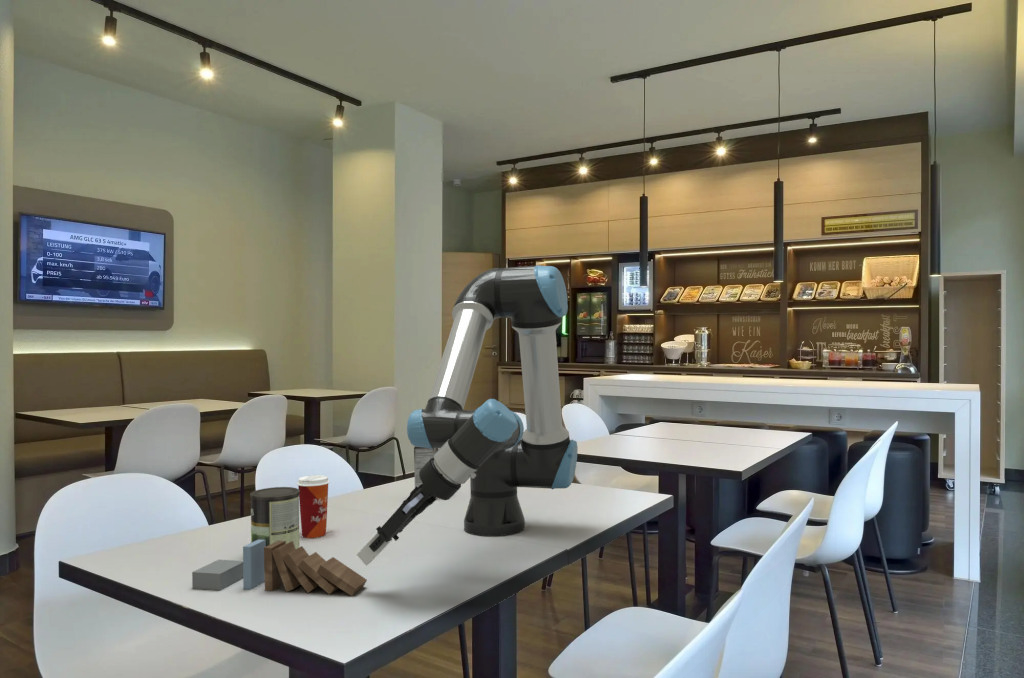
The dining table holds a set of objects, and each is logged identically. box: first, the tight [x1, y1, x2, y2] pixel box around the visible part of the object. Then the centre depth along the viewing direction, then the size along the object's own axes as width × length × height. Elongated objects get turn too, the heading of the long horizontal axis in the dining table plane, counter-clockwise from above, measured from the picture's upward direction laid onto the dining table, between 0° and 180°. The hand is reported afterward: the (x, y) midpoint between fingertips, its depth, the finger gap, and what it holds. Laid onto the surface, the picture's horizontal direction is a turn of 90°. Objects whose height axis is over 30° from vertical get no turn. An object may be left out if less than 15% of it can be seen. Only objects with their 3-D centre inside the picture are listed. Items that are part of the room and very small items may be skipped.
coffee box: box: [413, 446, 439, 500], centre depth 211 cm, size 9×6×16 cm
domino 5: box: [298, 551, 340, 596], centre depth 131 cm, size 2×5×8 cm
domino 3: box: [272, 541, 302, 593], centre depth 133 cm, size 2×5×8 cm, turn 168°
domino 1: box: [242, 540, 266, 590], centre depth 134 cm, size 2×5×8 cm, turn 167°
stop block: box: [191, 559, 243, 591], centre depth 136 cm, size 6×8×3 cm
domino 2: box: [264, 541, 286, 592], centre depth 133 cm, size 2×5×8 cm, turn 167°
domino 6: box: [317, 556, 368, 597], centre depth 130 cm, size 2×5×8 cm
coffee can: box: [249, 486, 300, 549], centre depth 153 cm, size 10×10×14 cm
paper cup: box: [296, 474, 331, 539], centre depth 170 cm, size 8×8×14 cm
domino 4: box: [283, 546, 320, 594], centre depth 132 cm, size 2×5×8 cm
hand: (363, 559), depth 129 cm, fingers closed
